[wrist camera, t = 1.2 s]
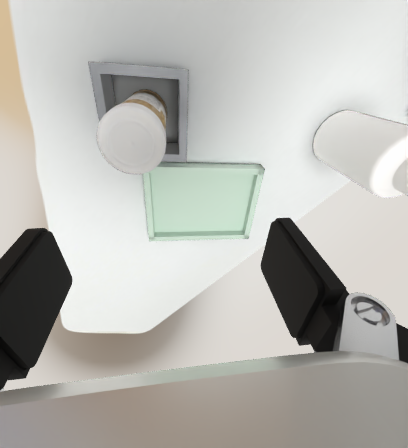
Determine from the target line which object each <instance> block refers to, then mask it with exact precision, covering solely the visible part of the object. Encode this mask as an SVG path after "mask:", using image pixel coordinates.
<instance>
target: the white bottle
mask: <svg viewBox="0 0 408 448" xmlns="http://www.w3.org/2000/svg"><path fill="white" fill-rule="evenodd" d="M313 149H314V153H315V155H316V157H317V158H318V159H319V160H320V161H322V162H324V163H325V164H327V165H328V166H330V167H331V168H333V169H335V170H336V171H338V172H339V173H341V174H342V175H344V176H346V177H347V178H349V179H350V180H352V181H353V182H355V183H357V184H358V185H360V186H361V187H363V188H365V189H366V190H368V191H369V192H371V193H372V194H374V195H376V196H378V197H383V198H391V197H396V196H400V195H403V194H405V195H407V196H408V125H407V124H403V123H399V122H395V121H391V120H387V119H383V118H379V117H375V116H371V115H367V114H363V113H359V112H355V111H349V110H346V111H341V112H338V113H336V114H334V115H332V116H330V117H329V118H328V119H327V120H326V121H324V122H323V123H322V125H321V126H320V128H319V129H318V130H317V132H316V135H315V137H314V142H313Z"/></svg>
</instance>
